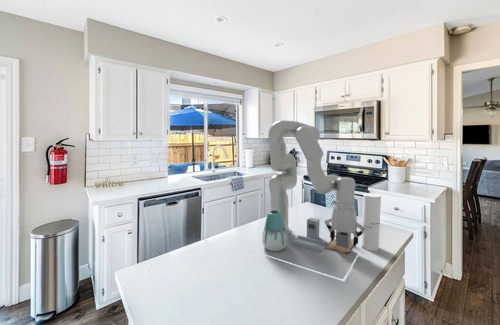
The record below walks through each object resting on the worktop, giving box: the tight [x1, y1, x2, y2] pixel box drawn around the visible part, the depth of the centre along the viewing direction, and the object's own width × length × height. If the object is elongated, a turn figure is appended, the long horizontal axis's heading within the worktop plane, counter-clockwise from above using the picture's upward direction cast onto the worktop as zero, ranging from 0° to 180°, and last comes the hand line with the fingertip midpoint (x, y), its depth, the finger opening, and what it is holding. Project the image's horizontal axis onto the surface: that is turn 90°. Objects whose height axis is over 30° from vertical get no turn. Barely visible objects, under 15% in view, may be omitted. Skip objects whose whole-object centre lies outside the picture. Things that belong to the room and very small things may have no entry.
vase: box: [261, 209, 288, 252], centre depth 113 cm, size 12×12×18 cm
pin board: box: [324, 230, 354, 255], centre depth 116 cm, size 11×16×6 cm
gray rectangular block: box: [306, 217, 320, 240], centre depth 124 cm, size 5×4×10 cm
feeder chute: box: [291, 234, 328, 252], centre depth 117 cm, size 14×8×2 cm, turn 54°
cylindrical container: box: [360, 192, 382, 252], centre depth 113 cm, size 7×7×25 cm
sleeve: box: [335, 231, 352, 252], centre depth 110 cm, size 5×5×7 cm
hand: (343, 242), depth 110 cm, fingers open, 9 cm apart
